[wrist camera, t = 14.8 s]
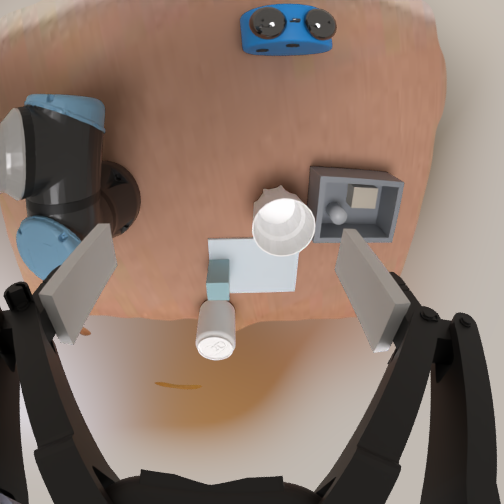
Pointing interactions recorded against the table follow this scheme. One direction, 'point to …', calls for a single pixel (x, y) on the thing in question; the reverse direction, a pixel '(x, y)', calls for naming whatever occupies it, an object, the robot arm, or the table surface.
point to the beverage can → (216, 329)
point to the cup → (282, 222)
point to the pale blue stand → (247, 269)
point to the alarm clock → (287, 30)
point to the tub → (353, 203)
